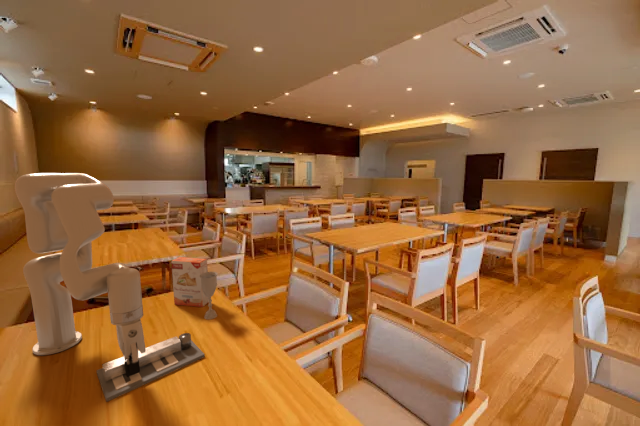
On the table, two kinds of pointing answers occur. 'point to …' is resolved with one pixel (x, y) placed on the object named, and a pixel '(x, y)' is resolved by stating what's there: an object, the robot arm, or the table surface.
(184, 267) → the cracker box
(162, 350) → the swing bar
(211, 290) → the chalice
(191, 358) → the label board
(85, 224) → the robot arm
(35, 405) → the table surface
